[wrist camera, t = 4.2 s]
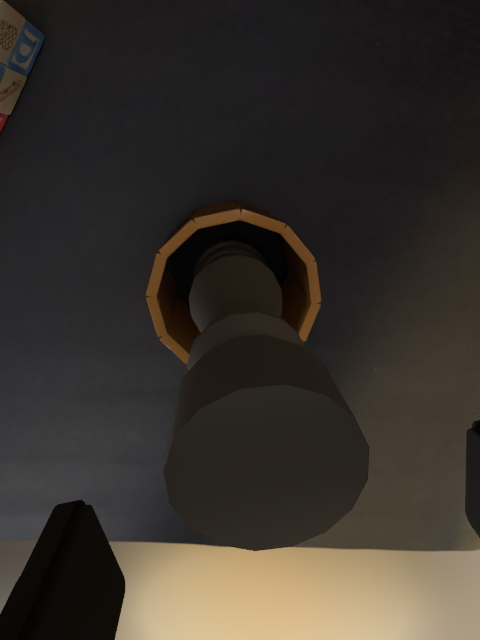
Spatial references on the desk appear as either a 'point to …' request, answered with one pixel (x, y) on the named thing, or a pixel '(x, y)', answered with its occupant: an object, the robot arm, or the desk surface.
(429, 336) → the desk surface
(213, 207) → the wooden planter pot
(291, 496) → the candle holder
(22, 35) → the stack of blocks
